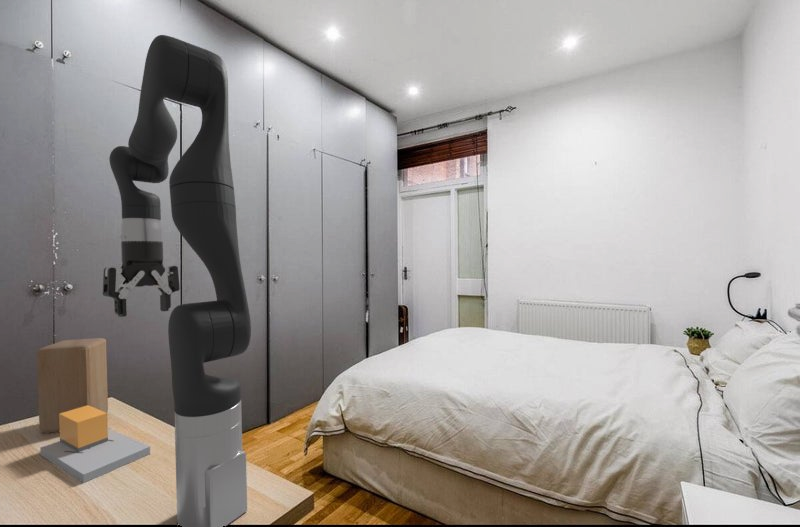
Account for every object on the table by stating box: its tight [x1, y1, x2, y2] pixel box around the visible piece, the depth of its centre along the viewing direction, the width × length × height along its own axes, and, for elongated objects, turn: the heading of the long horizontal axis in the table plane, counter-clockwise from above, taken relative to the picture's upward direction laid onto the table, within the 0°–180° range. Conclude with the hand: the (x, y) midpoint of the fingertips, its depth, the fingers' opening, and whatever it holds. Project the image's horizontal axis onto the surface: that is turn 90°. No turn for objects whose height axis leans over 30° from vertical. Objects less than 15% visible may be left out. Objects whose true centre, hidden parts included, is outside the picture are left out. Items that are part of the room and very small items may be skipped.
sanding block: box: [59, 405, 109, 452], centre depth 78 cm, size 9×5×6 cm, turn 60°
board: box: [39, 427, 151, 484], centre depth 75 cm, size 20×11×2 cm, turn 61°
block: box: [36, 337, 109, 434], centre depth 90 cm, size 10×10×20 cm
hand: (144, 313), depth 81 cm, fingers open, 8 cm apart
